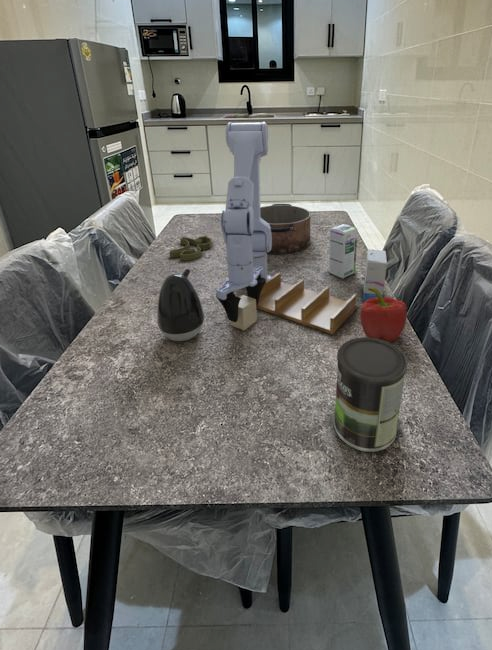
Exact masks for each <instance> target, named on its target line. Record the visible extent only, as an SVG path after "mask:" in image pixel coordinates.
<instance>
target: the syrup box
mask: <svg viewBox="0 0 492 650" xmlns="http://www.w3.org/2000/svg"><path fill="white" fill-rule="evenodd" d="M357 245H358V228H357V227H356V226H353V225H350V224H345V223H342V224H340V225H336V226H334V227H330V228H329V248H328V249H329V252H328V254H329V256H328V273H330V274H331V275H334V276H335V277H338V278H340V279H345V278H346V277H349V276H351V275H353V274H355V273H356V261H357Z"/></svg>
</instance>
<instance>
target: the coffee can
mask: <svg viewBox="0 0 492 650" xmlns="http://www.w3.org/2000/svg"><path fill="white" fill-rule="evenodd" d="M336 359H337V360H336V361H337V368H336V387H335V405H334V417H333V427H334V430H335V432H336V434H337V436H338V437H339V439H341V441H342V442H343V443H345V444H346V445H347V446H349V447H351V448H353V449H355V450H358V451H361V452H367V453H375V452H380V451H383V450H385V449H387V448H388V447H390V446H391V445H392V444H393V443H394V442H395V440H396V437H397V432H398V431H397V430H398V424H399V423H398V421H399V415H400V409H401V402H402V395H403V389H404V382H405V376H406V372H407V370H408V360H407V357H406V354H405V353H404V352H403V351H402V350H401V349H400V348H398V347H397V346H396V345H394V344H393V343H391V342H387V341H384V340H381V339H377V338H370V337H368V336H363V337H355V338H351V339H349V340H347V341H345V342H344V343H342V344H341V345H340V346H339V348H338V350H337V353H336Z"/></svg>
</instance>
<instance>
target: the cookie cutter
mask: <svg viewBox="0 0 492 650" xmlns="http://www.w3.org/2000/svg"><path fill="white" fill-rule="evenodd" d="M179 240H180V244H181V245H185V246H183V247H180V248H176V249H171V250H169V258H170V259H171V258H180V261H192V260H193V261H194V260H196V259H199V258H200V257H202V251H203V250H207V249H211V248H212V247H213V242H212V238H210V237H209V236H208V235H203V236H199V237H197V238H191V237H186V236H185V237H184V236H182V237H180V238H179ZM190 245H193V246H196V247H197V251H196V248H195V247H193V248H191V247H190Z"/></svg>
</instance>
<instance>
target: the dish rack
mask: <svg viewBox="0 0 492 650" xmlns="http://www.w3.org/2000/svg"><path fill="white" fill-rule="evenodd" d="M357 295H358V294H356V293H353V294H352V295H351V296H350V297H349V298H348V299H347V300H344V299H340V298H337V297H334V296H332V295H330V286H329V285H327V286H325V287H324V288H323V289H322V290H321V291H319V292H318V291H314V290H310V289H308V288H305V279H302V278H301V279H300V280H299V281H297V282H295V283H294V284H290V283H287V282H283V281H282V273H281V272H277V273H276V274H273V276H272V277H271V278H270V279H268V280H267V281H266V283H265V285H264V286H263V288H262V291H261V294H260V297H259V302H258V306H257V307H256V309H258V310H261V311H264V312H267V313H270V314H271V315H272V314H273V315H275V316H278V317H281V318H283V319H286V320H289V321H293V322H295V323H298V324H300V325H303V326H306V327H309V328H312V329H314V330H318V331H321V332H323V333H325V334H329V335H332V336H333V335H334V334H335V333H336V332H337V331H338V329H339V328H340V327H341V326H342V325H343V324H344V323H345V322H346V321H347V320H348V318H350V316H351V315H352V314H353V313H354V312H355V311H356V310H357V308H358V303H357Z"/></svg>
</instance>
